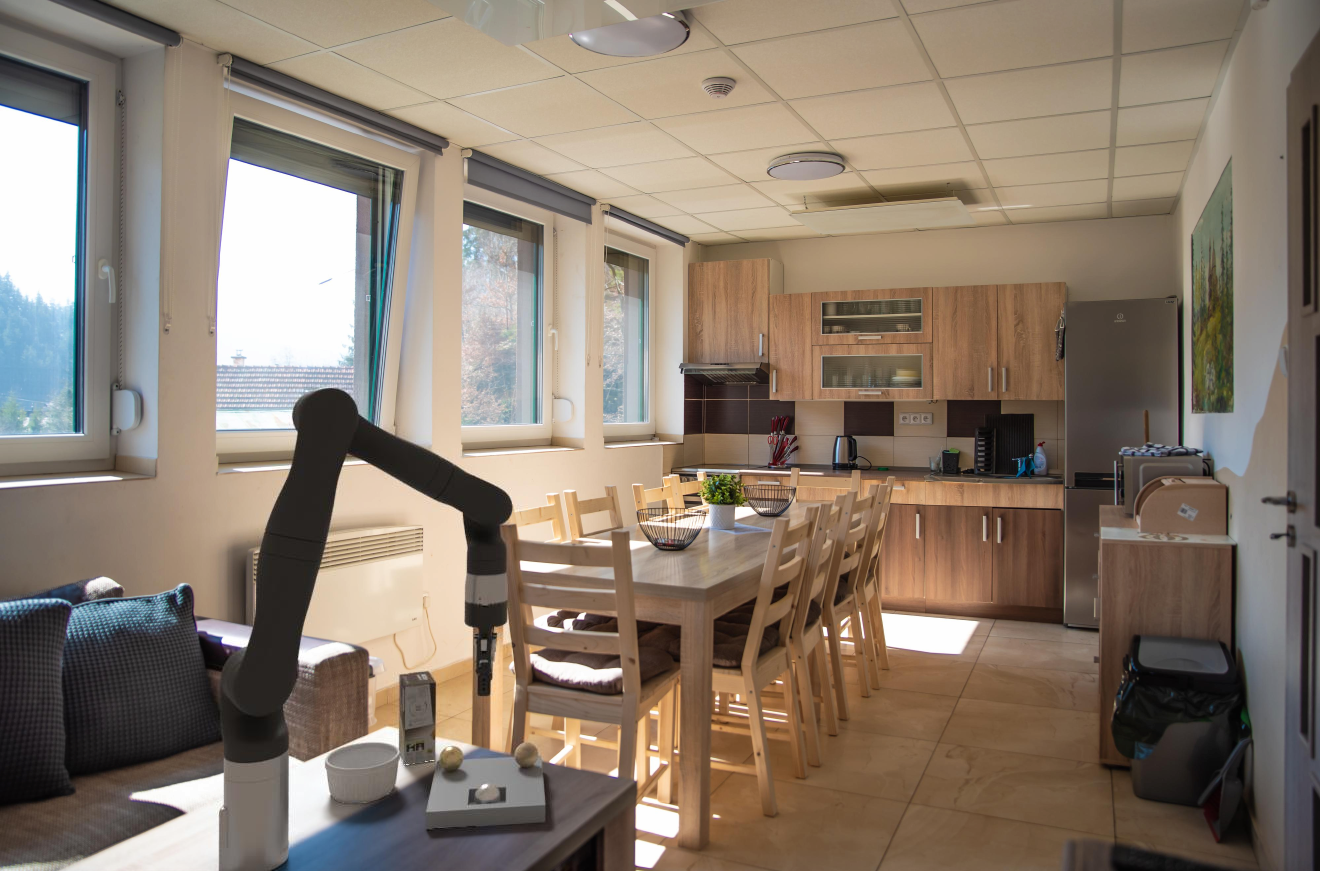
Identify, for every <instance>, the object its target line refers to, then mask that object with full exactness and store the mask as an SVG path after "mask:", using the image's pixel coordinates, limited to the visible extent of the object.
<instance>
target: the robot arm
mask: <svg viewBox="0 0 1320 871" xmlns="http://www.w3.org/2000/svg"><path fill="white" fill-rule="evenodd" d="M291 419H292V423H293V424H292V425H293V426H294V428H295V431H296V432H297V433H296V434H297V435H296V441H295V446H294V452H293V458H292V461H291V465H290V470H289V472H288V475H287V477H286V479H285V481H284V483H283V486H282V487H281V490H280V491H279V493H278V495H277V498H276V500H275V502H274V504H273V507H272V509H271V512H270V514H269V517H268V520H267V522H266V525H265V528H264V533H263V537H262V540H261V544H260V548H259V552H258V557H257V562H256V572H255V609H254V610H255V613H254V620H253V624H252V625H253V626H252V629H251V632H250V636H249V639H248V642H247V645H246V646H244V647H242V648H239V649H238V650H236V651H235V652H234V653H232V654H231V655H230V657H229V658H228V659H227V660H226V662H225V663H224V665H223V667H222V670H221V672H220V678H219V679H220V680H219V714H220V716H219V718H220V733H221V739H222V744H223V805H222V806H221V808H220V809H219V813H218V871H272V870H275V869H276V868H278V867H279V866H282V865H283V864H284V863H285V862H286V861H287V860H288V857H289V847H290V846H289V845H290V840H289V830H290V829H289V826H290V824H289V822H290V820H289V819H290V818H289V816H290V811H289V810H290V808H289V806H290V801H289V800H290V795H289V794H290V792H289V791H290V783H289V782H290V781H289V779H290V732H289V729H288V725H287V722H286V717H285V710H284V705H285V704H286V703H287V701H288V700H289V698H290V697H291V695H292V692H293V690H294V689H295V688H294V687H295V684H296V682H295V681H296V678H297V672H298V671H297V670H298V662H299V655H300V648H301V641H302V635H303V630H304V625H305V621H306V617H307V615H308V611H309V607H310V604H311V601H312V597H313V594H314V590H315V585H316V583H317V582H316V581H317V577H318V574H319V571H320V567H321V564H322V561H323V556H324V552H325V548H326V545H327V541H328V536H329V530H330V526H331V522H332V516H333V513H334V505H335V499H336V495H337V488H338V483H339V479H340V475H341V472H342V468H343V465H344V463H345V460H346V457H347V455H350V456H352V457H355V458H356V459H358V460H361V461H363V462H365V463H367V464H369V465H371V466H373V467H375V468H377V469H378V470H380V471H382V472H383V473H385V474H387V475H389V476H391V477H393V478H395V479H396V480H398V481H399V482H401V483H402V484H404V485H407V486H408V487H410V488H411V489H413V490H415V491H417V492H419V493H421V494H423V495H424V496H425V497H426V496H427V497H428V498H430V499H432V500H433V501H436V502H438V503H441V504H443V505H447V506H449V507H451V508H453V509H456V510H458V511H459V512H461V513H462V523H463V528H464V535H465V540H466V547H467V548H466V549H467V550H466V573H465V574H466V575H465V576H466V577H465V580H464V581H465V583H464V624H465V625H466V626H467V627H470V628H476V629H478V632H475V633H474V636H473V645H474V662H475V663H476V667H475V668H476V669H475V673H476V674H475V675H477V696H478V697H489V696H491V692H492V691H491V690H492V689H491V686H492V685H491V683H492V682H491V681H493V679H494V678H493V677H494V676H493V674H494V673H493V672H494V671H493V667H494V664H493V663H494V662H495V659H496V658H495V657H496V652H497V645H498V632H495V627H496V628H500V627H502V626H504V625H506V624H507V623H508V608H509V607H508V604H509V603H508V600H509V599H508V597H509V596H508V594H509V593H508V592H509V588H508V587H509V586H508V585H509V583H508V577H507V576H508V575H507V572H508V571H507V565H508V564H507V561H508V559H507V557H508V554H507V553H508V552H507V545H506V543H505V541H504V540H503V538H502V535H501V526H502V525H503V524H505V523H506V522H507V521H509V519H510V518H511V515H512V513H513V502H512V499H511V497H510V495H509V493H508V492H506V491H505V490H503V488H501V487H499V486H497V485H495V484H493V483H492V482H489V481H488V480H487V481H486V479H485V480H484V479H483V478H481V477H478V476H475V475H473V474H471V473H469V472H468V471H466V470H464V469H463V468H461V467H459V466H458V465H457V464H455V463H453V462H451V461H450V460H448V459H446V458H444V457H443V456H440V455H439V454H437V453H435V452H433V451H431V450H429V449H427V448H425V447H423V446H420V445H418V444H416V443H414V442H412V441H409V440H406V439H404V438H402V437H400V436H398V435H396V434H393V433H390V432H389V431H387V430H385V429H383V428H381V427H379V426H377V425H376V424H374V423H373V422H370V420H368V419H367V418H365V417H363V415H361V414H360V413H359V408H358V406H357V403H356V401H355V399H354V398H353V397H352V396H351V394H349V393H348V392H346V391H345V390H343V389H340V388H337V387H332V386H329V387H328V386H327V387H326V386H325V387H320V388H316V389H313V390H310V391H308V392H306V393H304V394H303V395H302V396H300V397H299V398H298V399H297V401H296V402H295V403H294V405H293V408H292V412H291Z"/></svg>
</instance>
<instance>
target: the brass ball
mask: <svg viewBox="0 0 1320 871" xmlns="http://www.w3.org/2000/svg"><path fill="white" fill-rule="evenodd" d="M464 756H465V755H464V753H463V750H462V749H461V748H460V747H458V746H455V745H450V746H447V747H445V748H444V749H442V751H441V752H440V754H439V757H438V761H439V763H440V765H441V767H442V768H443V769H444V770H446V771H455V770H457V769H458V768H459V767H460V766H461V765H462V763H463V759H464Z"/></svg>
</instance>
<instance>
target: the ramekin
mask: <svg viewBox="0 0 1320 871" xmlns="http://www.w3.org/2000/svg"><path fill="white" fill-rule="evenodd" d="M400 759H401V755H400V751H399V747H398V746H396V745H395V744H391V743H387V742H381V741H369V742H367V741H366V742H358V743H353V744H349V745H345V746H342V747H339V748H337V749H334V750H333V751H331V752H330V753H328V754H327V755H326V757H325V758H324V768H325V770H326V776H327V783H328V789H329V793H330V795H331V797H332V798H333V799H334V800H335V801H337V802H339V801H340V803H342V802H344V803H343V804H348V803H360V804H365V803H364V802H367V803H370V802H369V801H372V802H375V801H378V800H380V798H381V799H382V797H383V798H385V797H386V796H388V795H389V794H390V793H391V792H392V791H393V789H394V788H395V786H396V783H397V780H398V779H397V777H398V771H399V770H398V769H399V762H400ZM389 792H390V793H389ZM388 793H389V794H388ZM387 794H388V795H387ZM385 795H386V796H385ZM384 796H385V797H384ZM377 799H378V800H377ZM374 800H375V801H374Z"/></svg>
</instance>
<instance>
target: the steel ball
mask: <svg viewBox="0 0 1320 871" xmlns="http://www.w3.org/2000/svg"><path fill="white" fill-rule="evenodd" d="M474 800H475V804H476V805H477V804H494V803H499V801H500V792H499V789H498V788H497V787H496V786H495V785H493V784H489V783H487V784H483V785H481V786H480V787H479V788H478V789H477V791H476V793H475V796H474Z"/></svg>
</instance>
